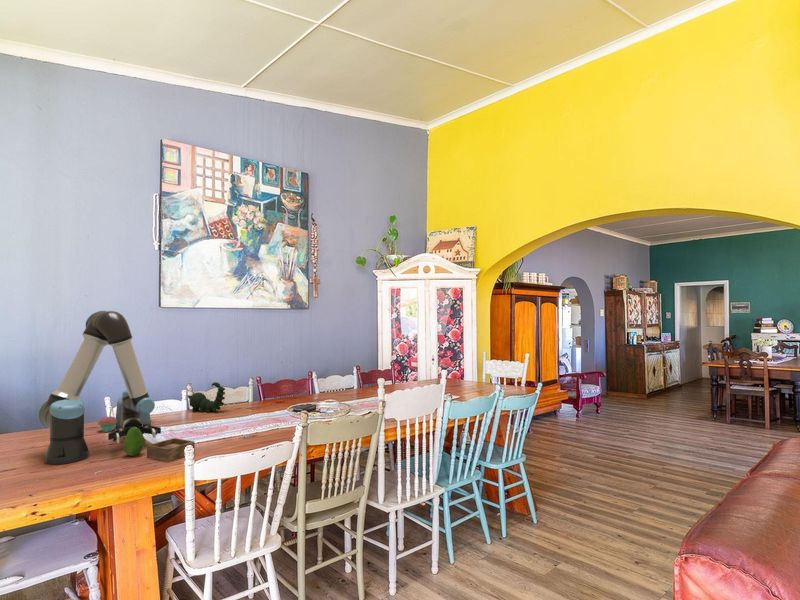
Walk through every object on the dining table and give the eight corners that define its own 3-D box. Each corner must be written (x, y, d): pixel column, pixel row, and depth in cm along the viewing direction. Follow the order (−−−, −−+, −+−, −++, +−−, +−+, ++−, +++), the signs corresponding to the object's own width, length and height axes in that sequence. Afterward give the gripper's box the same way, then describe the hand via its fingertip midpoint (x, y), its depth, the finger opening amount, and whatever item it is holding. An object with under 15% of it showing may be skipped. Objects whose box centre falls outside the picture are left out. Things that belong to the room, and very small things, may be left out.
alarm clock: (116, 423, 268) (116, 393, 268) (150, 419, 276) (150, 390, 276) (115, 429, 254) (115, 398, 254) (150, 425, 261) (150, 395, 262)
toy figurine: (226, 413, 298) (191, 407, 304) (228, 382, 297) (193, 377, 304) (216, 417, 289) (180, 411, 295) (219, 384, 288) (183, 379, 295)
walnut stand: (167, 461, 199) (167, 449, 199) (146, 457, 205) (146, 445, 205) (194, 453, 210) (194, 441, 210) (174, 449, 217) (174, 437, 217)
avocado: (124, 459, 203) (124, 429, 203) (122, 454, 209) (122, 426, 209) (146, 455, 207) (146, 427, 208) (143, 451, 214) (143, 423, 214)
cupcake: (121, 428, 254) (121, 405, 255) (109, 433, 246) (109, 408, 246) (105, 428, 255) (105, 405, 255) (93, 432, 247) (93, 408, 247)
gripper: (162, 431, 234) (169, 441, 216) (100, 439, 220) (102, 450, 202) (162, 415, 234) (169, 424, 216) (101, 422, 220) (102, 432, 202)
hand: (136, 437), depth 209 cm, fingers open, 13 cm apart
